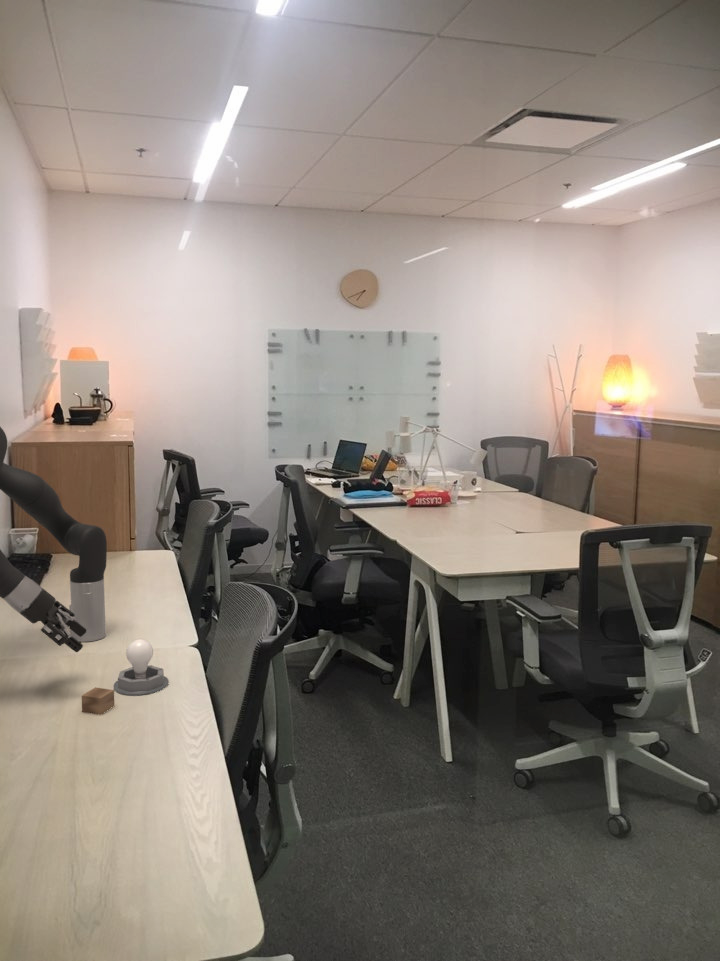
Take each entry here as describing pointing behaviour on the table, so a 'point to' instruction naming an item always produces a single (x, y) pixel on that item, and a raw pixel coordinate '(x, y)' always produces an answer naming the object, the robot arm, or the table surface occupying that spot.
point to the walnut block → (97, 701)
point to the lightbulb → (139, 657)
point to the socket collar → (141, 682)
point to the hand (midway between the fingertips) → (82, 641)
